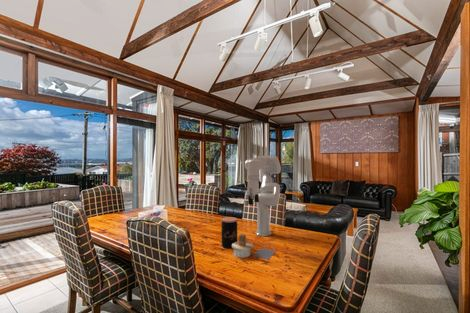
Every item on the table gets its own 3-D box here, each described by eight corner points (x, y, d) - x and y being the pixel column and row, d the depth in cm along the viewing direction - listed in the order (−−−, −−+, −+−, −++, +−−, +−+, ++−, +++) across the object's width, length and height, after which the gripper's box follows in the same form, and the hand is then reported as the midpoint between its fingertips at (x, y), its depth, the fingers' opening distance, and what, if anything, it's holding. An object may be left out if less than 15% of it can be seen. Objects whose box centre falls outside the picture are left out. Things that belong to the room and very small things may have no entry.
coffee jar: (223, 249, 146) (223, 221, 147) (220, 243, 157) (219, 217, 157) (239, 247, 149) (239, 220, 149) (235, 242, 159) (234, 216, 160)
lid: (238, 241, 147) (238, 230, 147) (256, 245, 141) (256, 233, 141) (227, 248, 136) (227, 236, 136) (247, 252, 129) (247, 240, 129)
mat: (261, 248, 147) (261, 247, 147) (276, 251, 142) (276, 250, 142) (252, 257, 135) (252, 256, 135) (268, 260, 130) (268, 259, 130)
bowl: (238, 250, 145) (238, 242, 145) (252, 253, 140) (252, 245, 140) (230, 256, 136) (230, 247, 136) (245, 259, 132) (245, 251, 132)
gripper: (253, 176, 164) (253, 200, 164) (242, 178, 149) (243, 205, 149) (263, 177, 160) (263, 201, 160) (253, 179, 145) (253, 206, 145)
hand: (253, 203), depth 154 cm, fingers open, 9 cm apart
